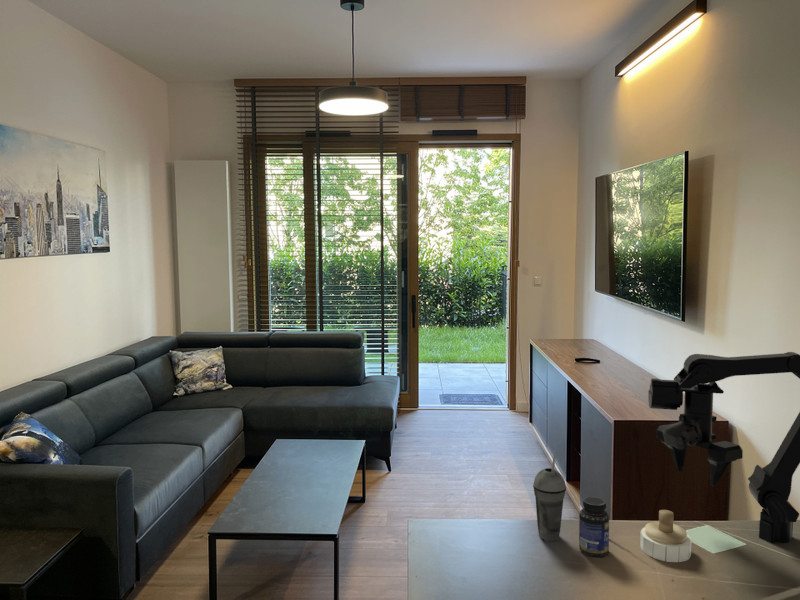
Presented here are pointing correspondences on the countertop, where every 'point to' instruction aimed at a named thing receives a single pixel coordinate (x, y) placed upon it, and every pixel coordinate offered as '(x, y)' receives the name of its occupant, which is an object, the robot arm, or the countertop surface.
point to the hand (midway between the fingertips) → (696, 478)
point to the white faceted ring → (665, 549)
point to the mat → (713, 539)
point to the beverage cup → (549, 501)
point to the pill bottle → (594, 527)
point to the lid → (666, 530)
